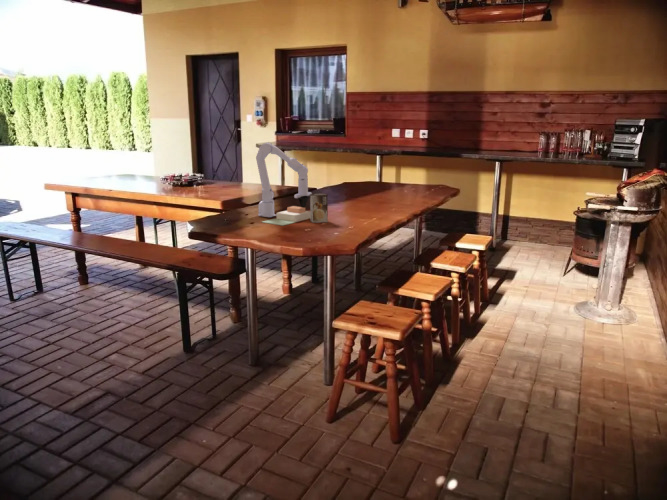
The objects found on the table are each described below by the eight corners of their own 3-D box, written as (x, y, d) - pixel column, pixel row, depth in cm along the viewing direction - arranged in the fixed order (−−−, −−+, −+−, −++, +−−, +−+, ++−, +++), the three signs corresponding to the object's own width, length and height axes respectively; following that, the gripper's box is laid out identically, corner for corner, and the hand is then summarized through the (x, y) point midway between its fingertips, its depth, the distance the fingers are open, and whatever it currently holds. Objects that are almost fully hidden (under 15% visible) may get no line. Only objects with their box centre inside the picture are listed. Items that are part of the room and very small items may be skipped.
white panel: (276, 219, 312) (276, 212, 311) (293, 215, 325) (293, 209, 324) (294, 222, 304) (294, 215, 303) (311, 218, 317) (311, 211, 316)
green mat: (261, 222, 303) (261, 221, 303) (275, 219, 313) (275, 218, 313) (282, 225, 294) (282, 225, 294) (296, 222, 304) (296, 221, 304)
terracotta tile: (287, 211, 315) (287, 207, 315) (293, 210, 320) (293, 206, 320) (298, 213, 310) (298, 209, 310) (305, 211, 315) (305, 207, 315)
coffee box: (325, 220, 311) (325, 193, 307) (327, 222, 305) (328, 194, 301) (310, 220, 309) (309, 193, 305) (312, 223, 303) (312, 195, 299)
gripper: (300, 188, 309) (300, 210, 312) (315, 185, 320) (315, 207, 324) (291, 187, 313) (291, 209, 316) (306, 184, 324) (306, 206, 328)
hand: (303, 208), depth 320 cm, fingers closed
